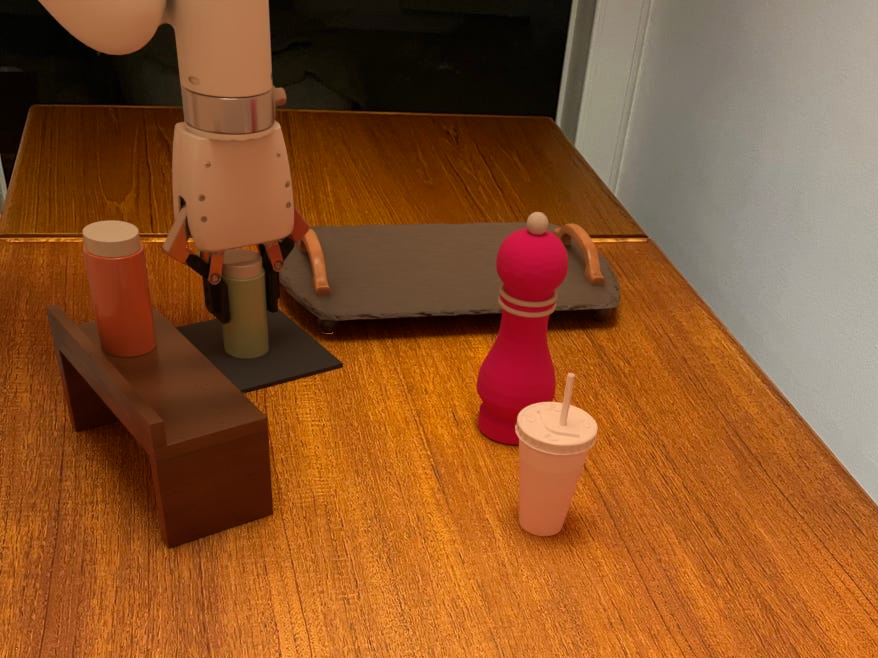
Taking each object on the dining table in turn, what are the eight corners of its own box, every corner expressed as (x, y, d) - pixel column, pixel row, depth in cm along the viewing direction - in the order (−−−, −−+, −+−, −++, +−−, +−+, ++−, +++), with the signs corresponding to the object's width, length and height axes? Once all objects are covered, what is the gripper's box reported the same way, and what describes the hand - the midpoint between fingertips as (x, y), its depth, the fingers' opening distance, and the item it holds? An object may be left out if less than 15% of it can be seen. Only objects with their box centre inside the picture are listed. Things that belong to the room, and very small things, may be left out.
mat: (213, 401, 93) (212, 397, 93) (149, 336, 101) (149, 333, 101) (343, 366, 100) (343, 363, 100) (274, 308, 108) (274, 305, 107)
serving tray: (293, 345, 102) (291, 286, 98) (263, 250, 118) (260, 196, 114) (641, 327, 112) (652, 274, 108) (571, 242, 128) (578, 192, 124)
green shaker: (236, 362, 98) (229, 271, 92) (216, 343, 100) (207, 252, 94) (277, 352, 100) (272, 262, 94) (256, 334, 102) (250, 244, 96)
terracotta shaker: (113, 362, 79) (93, 246, 73) (91, 338, 82) (70, 224, 75) (166, 349, 81) (151, 236, 75) (143, 327, 84) (127, 215, 78)
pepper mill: (561, 424, 96) (598, 212, 82) (526, 457, 91) (558, 238, 78) (496, 399, 98) (521, 188, 85) (458, 430, 94) (477, 213, 80)
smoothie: (538, 555, 81) (564, 402, 71) (487, 515, 84) (505, 363, 75) (594, 529, 84) (626, 379, 75) (543, 491, 88) (567, 343, 78)
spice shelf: (273, 513, 82) (266, 393, 74) (168, 548, 77) (150, 424, 70) (168, 400, 93) (152, 285, 85) (71, 425, 88) (45, 306, 81)
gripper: (294, 86, 91) (301, 280, 104) (114, 105, 83) (144, 314, 96) (337, 111, 87) (339, 310, 100) (152, 134, 79) (179, 348, 92)
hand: (243, 310), depth 97 cm, fingers closed on green shaker, 4 cm apart
